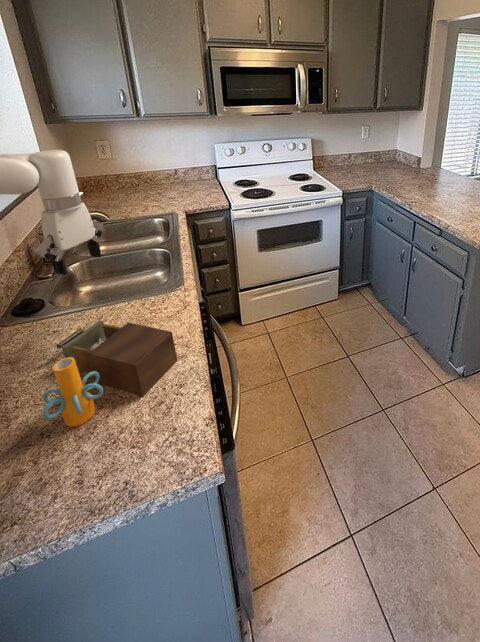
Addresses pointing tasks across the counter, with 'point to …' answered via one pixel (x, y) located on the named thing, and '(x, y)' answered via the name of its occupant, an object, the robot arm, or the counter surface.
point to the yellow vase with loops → (72, 393)
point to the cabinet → (134, 358)
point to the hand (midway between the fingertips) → (79, 264)
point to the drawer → (85, 343)
